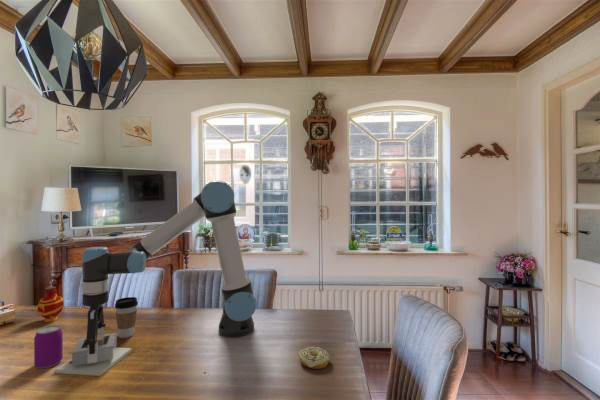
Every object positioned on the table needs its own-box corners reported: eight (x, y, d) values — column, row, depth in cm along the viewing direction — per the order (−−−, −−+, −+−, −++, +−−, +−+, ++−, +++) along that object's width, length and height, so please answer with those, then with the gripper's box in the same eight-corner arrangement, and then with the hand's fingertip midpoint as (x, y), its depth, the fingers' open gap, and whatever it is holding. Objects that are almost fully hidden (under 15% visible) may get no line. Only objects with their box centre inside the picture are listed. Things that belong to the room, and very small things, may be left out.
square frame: (116, 344, 118) (116, 332, 118) (112, 358, 107) (112, 345, 107) (80, 350, 113) (80, 337, 113) (72, 366, 103) (72, 352, 103)
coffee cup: (127, 340, 126) (127, 303, 126) (109, 338, 128) (109, 301, 128) (142, 331, 135) (142, 296, 134) (125, 329, 136) (125, 295, 136)
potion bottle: (68, 318, 148) (68, 286, 148) (41, 326, 140) (41, 292, 139) (59, 313, 154) (59, 283, 154) (32, 320, 145) (32, 288, 145)
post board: (131, 351, 117) (131, 329, 117) (100, 375, 101) (100, 350, 101) (91, 349, 119) (91, 327, 119) (54, 372, 103) (54, 347, 103)
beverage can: (31, 364, 108) (31, 329, 108) (59, 355, 114) (59, 322, 114) (37, 372, 103) (36, 335, 103) (65, 362, 109) (65, 328, 109)
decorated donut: (311, 374, 103) (311, 363, 103) (293, 360, 112) (293, 349, 112) (335, 365, 109) (335, 354, 109) (316, 352, 118) (316, 342, 118)
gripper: (89, 284, 119) (89, 341, 119) (74, 304, 97) (74, 374, 98) (112, 282, 122) (112, 337, 123) (102, 300, 101) (103, 368, 101)
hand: (95, 354), depth 110 cm, fingers closed on square frame, 11 cm apart
